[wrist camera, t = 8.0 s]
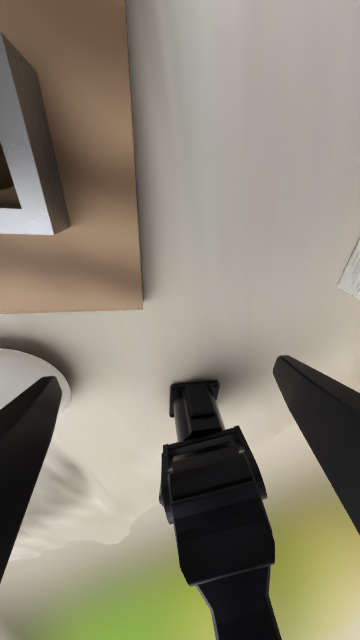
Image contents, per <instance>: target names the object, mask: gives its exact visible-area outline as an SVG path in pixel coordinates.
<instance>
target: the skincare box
mask: <svg viewBox="0 0 360 640" xmlns="http://www.w3.org/2000/svg"><path fill="white" fill-rule="evenodd" d="M337 288H339V289H341V290H343V291H344V292H346V293H348V294H350V295H352V296H354V297H356V298H357V299H359V300H360V239H359V241H358V243H357V245H356V248H355V250H354V252H353V254H352V256H351V258H350V260H349V262H348V264H347V266H346V268H345V270H344V272H343V274H342V276H341V278H340V280H339V282H338V284H337Z"/></svg>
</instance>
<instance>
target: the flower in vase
mask: <svg viewBox="0 0 360 640" xmlns="http://www.w3.org/2000/svg"><path fill="white" fill-rule="evenodd" d="M44 376H55V377H56V378H57V380H58V382H59V385H60V387H61V389H62V398H61V402H60V407H59V411H58V415H57V418H58V417H59V416H60V415H61V414H62V413H63V412H64V411H65V410H66V408H67V407H68V405H69V403H70V400H71V391H70V388H69V385H68V383H67V381H66V379H65V377H64V376H63V375H62V374H61V372H60V371H59V370H57V369H56V368H55V367H54V366H53V365H51V364H50V363H48V362H46V361H44V360H43V359H41V358H38V357H36V356H34V355H31V354H28V353H25V352H21V351H16V350H11V349H1V348H0V409H2V408H3V407H4V406H5V405H7V404H8V403H9V402H11V401H12V400H13V399H14V398H16V397H17V396H18V395H20V394H21V393H22V392H23V391H25V390H26V389H27V388H28V387H30V386H31V385H32V384H34V383H35V382H36V381H37V380H39V379H40V378H41V377H44Z"/></svg>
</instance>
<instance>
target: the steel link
mask: <svg viewBox="0 0 360 640" xmlns="http://www.w3.org/2000/svg"><path fill="white" fill-rule="evenodd" d="M0 142H1V145H2V148H3V152H4V155H5V158H6V161H7V164H8V167H9V170H10V173H11V176H12V180H13V183H14V186H15V189H16V192H17V195H18V198H19V201H20V204H21V205H15V204H0V234H36V235H55V234H57V233H59V232H62V231H64V230H66V229H68V228H70V227H71V225H70V221H69V216H68V212H67V207H66V202H65V198H64V193H63V189H62V184H61V179H60V175H59V170H58V166H57V161H56V156H55V152H54V147H53V143H52V138H51V133H50V129H49V124H48V120H47V115H46V110H45V106H44V101H43V97H42V92H41V87H40V83H39V78H38V74H37V71H36V70H35V69H34V68H33V67H32V66H31V65H30V63H29V62H28V61H27V60H26V59H25V58H24V57H23V56H22V54H21V53H20V52H19V51H18V50H17V49H16V48H15V47H14V46H13V44H12V43H11V42H10V41H9V40H8V39H7V38H6V37H5V35H4V34H3V33H2V32H1V31H0Z"/></svg>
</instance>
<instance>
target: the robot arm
mask: <svg viewBox="0 0 360 640" xmlns="http://www.w3.org/2000/svg"><path fill="white" fill-rule="evenodd" d="M273 375H274V377H275V379H276V382H277V384H278V386H279V388H280V391H281V393H282V395H283V398H284V400H285V402H286V404H287V406H288V408H289V410H290V412H291V414H292V416H293V417H294V419H295V421H296V423H297V424H298V426H299V428H300V430H301V432H302V433H303V435H304V437H305V439H306V440H307V442H308V444H309V446H310V448H311V449H312V451H313V453H314V455H315V456H316V458H317V460H318V462H319V463H320V465H321V467H322V469H323V471H324V472H325V474H326V476H327V478H328V480H329V481H330V483H331V485H332V487H333V488H334V490H335V492H336V494H337V496H338V497H339V499H340V501H341V503H342V504H343V506H344V508H345V510H346V511H347V513H348V515H349V517H350V518H351V520H352V522H353V524H354V526H355V527H356V529H357V531H358V533H359V535H360V393H358V392H357V391H355V390H353V389H351V388H349V387H347V386H345V385H343V384H341V383H340V382H338V381H336V380H334V379H332V378H330V377H328V376H326V375H325V374H323V373H321V372H319V371H317V370H315V369H313V368H311V367H309V366H308V365H306V364H304V363H302V362H300V361H298V360H296V359H294V358H293V357H291V356H288V355H283V356H278V357H277V359H276V362H275V365H274V368H273ZM219 386H220V385H219V382H218V381H208V382H196V383H185V384H174V385H171V386H170V404H169V415H170V417H175V424H176V432H177V439H178V442H177V443H173V444H169V445H168V444H165V445H163V453H162V454H161V455H162V472H161V485H160V493H159V501H160V504H162V506H163V507H164V509H165V512H166V516H167V520H168V522H169V524H174V530H175V536H176V542H177V548H178V555H179V563H180V568H181V571H182V573H183V574H184V577H185V579H186V581H187V583H188V584H189V586H196V587H197V589H198V591H199V592H200V594H201V595H202V597H203V599H204V600H205V602H206V604H207V605H208V607H209V608H210V610H211V615H212V620H213V625H214V630H215V636H216V640H282V639H281V636H280V633H279V629H278V626H277V622H276V619H275V616H274V612H273V609H272V605H271V602H270V599H269V580H270V566H271V565H272V564H274V563H275V542H274V539H273V536H272V529H271V526H270V523H269V521H268V517H267V514H266V511H265V508H264V505H263V502H262V500H264V499H267V493H266V489H265V485H264V482H263V479H262V476H261V473H260V471H259V468H258V465H257V463H256V461H255V459H254V456H253V454H252V452H251V450H250V448H249V446H248V444H247V442H246V440H245V438H244V436H243V434H242V431H241V429H240V427H239V425H238V426H234V428H230V429H226V430H225V427H224V424H223V421H222V418H221V415H220V412H219V409H218V406H217V403H216V399H217V395H218V390H219ZM61 398H62V389H61V387H60V385H59V382H58V380H57V378H56V377H55V376H44V377H41V378H40V379H39V380H37V381H36V382H35V383H34V384H32V385H31V386H30V387H28V388H27V389H26V390H25V391H23V392H22V393H21V394H20V395H18V396H17V397H16V398H14V399H13V400H12V401H11V402H9V403H8V404H7V405H5V406H4V407H3V408H2V409H0V583H1V580H2V577H3V574H4V571H5V568H6V566H7V563H8V560H9V557H10V554H11V552H12V549H13V546H14V543H15V540H16V538H17V535H18V532H19V529H20V526H21V523H22V521H23V518H24V515H25V512H26V509H27V507H28V504H29V501H30V498H31V495H32V492H33V490H34V487H35V484H36V481H37V478H38V476H39V473H40V470H41V467H42V464H43V462H44V459H45V456H46V453H47V450H48V447H49V445H50V442H51V439H52V435H53V431H54V427H55V423H56V419H57V415H58V411H59V407H60V402H61Z"/></svg>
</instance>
